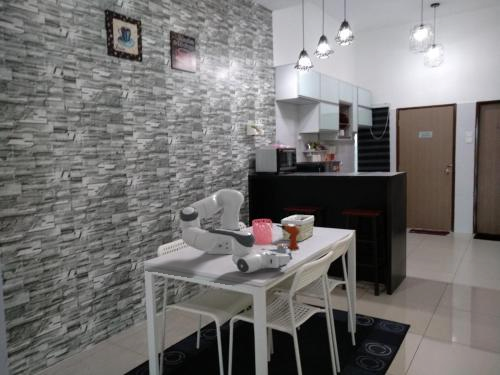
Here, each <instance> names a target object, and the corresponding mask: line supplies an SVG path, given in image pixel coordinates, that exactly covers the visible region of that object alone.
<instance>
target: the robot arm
mask: <svg viewBox="0 0 500 375" xmlns="http://www.w3.org/2000/svg"><path fill="white" fill-rule="evenodd" d="M244 200H245V197H244V195H243V193H242V192H240V191H239V190H236V189H231V188H230V189H229V188H223V189H222V188H221V189H219V190H217V191H216V192H215V193H213V194H211V195H209V196H207V197H204V198H202V199H200V200H198V201H195V202H193V203H192V204H190V205H188V206H185V207H183V208H182V209H181V210H180V211H179V224H180V229H181V232H182V234H181V240H182V242H183V243H185V244H186V245H188V246H189V247H191V248H193V249H196V250H197V251H200V252H201V251H202V252H206V254H208V255H232V261H233V263H234V264H235V266H236V268H237V270H239V272H240V273H244V274H248V273H255V272H257V271H259V270H261V269H267V268H271V269H274V268H275V269H277V268H279V267H282V266H281V265H284V264H289V263H291V259H290V255H288V253H284V254H282V253H278V252H277V251H269V249H266V250H261V249H260V250H257V251H256V252H255V253H253V248H254V245H255V241H256V237H255V236H254V234H253V233H252V232H251V231H247V230H241V228H240V218H239V217H240V211H241V210H240V209H241V207H242V205H243V203H244V202H245V201H244ZM221 209H223V213H222V215H221V217H220V220H221V221H220V222H221V227H211V228H210V229H209V230H205V229H202V228H201V221H202V220H203V219H206V218H209V217H210V216H214V215H215V214H217V213H218V212H219V211H220V210H221ZM200 220H201V221H200Z"/></svg>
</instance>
